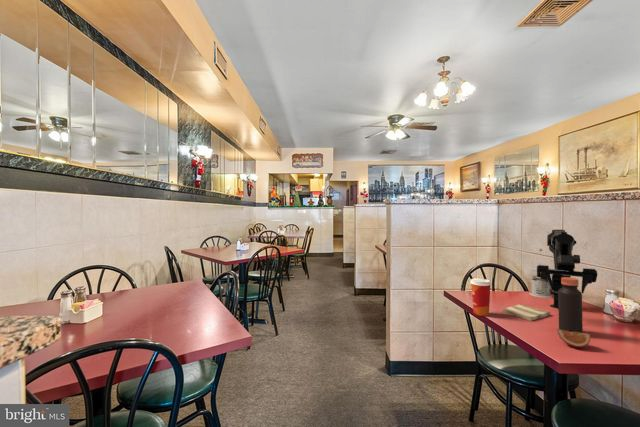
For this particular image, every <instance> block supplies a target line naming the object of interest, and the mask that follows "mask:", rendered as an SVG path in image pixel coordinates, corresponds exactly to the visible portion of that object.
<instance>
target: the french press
mask: <svg viewBox="0 0 640 427" xmlns="http://www.w3.org/2000/svg"><path fill="white" fill-rule="evenodd" d="M537 251H539V252H542V251H543V249H542V248H538V249H537ZM530 269H531V271H534V272H537V266H534V267H532V268H530ZM552 275H553V274H550V276H552ZM531 277H532V278H531V292H529V295H530V296H533V297H535V298H544V299H549V298H551V299H552V298H553V295H552V294H550V287H549V285H548V284H547V282H546V281H545V280H544V279H541V277H537V275H532V276H531Z"/></svg>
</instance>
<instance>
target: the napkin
mask: <svg viewBox="0 0 640 427" xmlns="http://www.w3.org/2000/svg"><path fill="white" fill-rule="evenodd" d="M501 313H504V314H506V315H509V316H513V317H517V318H520V319H523V320H525V321H529V322H530V321H531V322H532V321H536V320H539V319H543V318H546V317H549V316H550V315H551V311H548V310H545V309H540V308H536V307H534V306H533V307H532V306H530V305H525V304H522V303H519V304H516V305H511V306H508V307H505V308H501Z"/></svg>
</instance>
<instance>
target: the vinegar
mask: <svg viewBox="0 0 640 427" xmlns="http://www.w3.org/2000/svg"><path fill="white" fill-rule="evenodd" d="M579 283H580V282H579V279H578V278H575V277H572V276H571V277H562V278H561V284H562V288H561V289H559V290H558V308H557V309H558V329H560V330H566V331H570V332H573V331H574V332H580V333H584V332H583V329H584V328H583V293H582V291H580V290H579V289H578V287H579Z"/></svg>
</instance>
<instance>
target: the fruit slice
mask: <svg viewBox="0 0 640 427" xmlns="http://www.w3.org/2000/svg"><path fill="white" fill-rule="evenodd" d="M556 329H557V328H556ZM557 335H558V336H559V337H558V338H559V339H561V340H562V341H563V342H564V343H565V344H567V345H569V346H571V347H573V348H577V349H581V348H585V347H586V346H588V345H589V344H590V342H591V334H590V333H586V332H583V333H580V332H574V331H573V332H570V331H566V330H560V329H559V328H558V329H557Z"/></svg>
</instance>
